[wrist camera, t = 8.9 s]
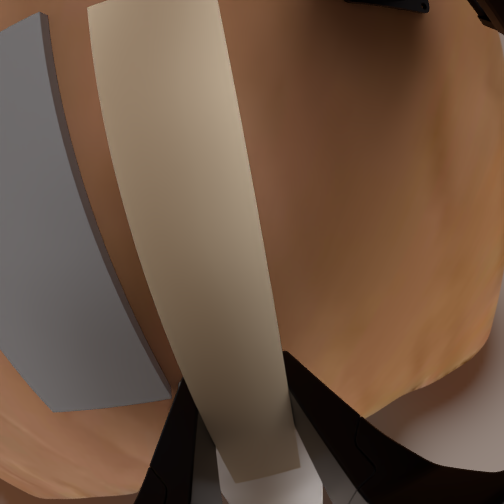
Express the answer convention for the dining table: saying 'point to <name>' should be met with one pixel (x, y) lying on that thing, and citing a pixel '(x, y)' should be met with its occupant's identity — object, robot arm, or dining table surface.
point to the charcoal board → (58, 251)
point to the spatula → (201, 233)
